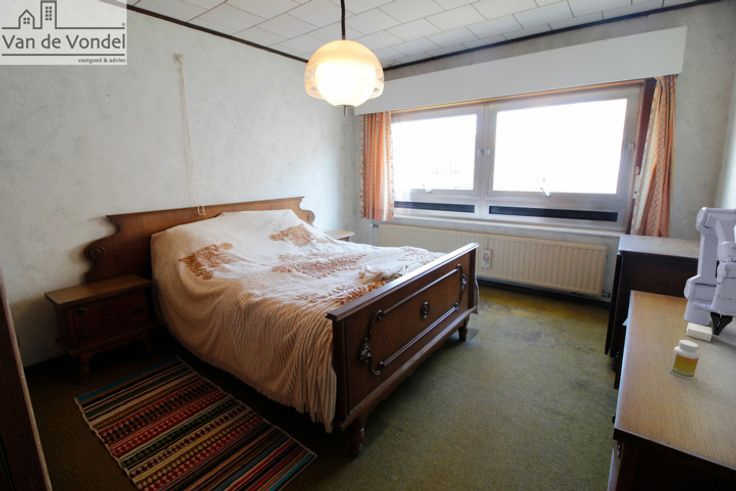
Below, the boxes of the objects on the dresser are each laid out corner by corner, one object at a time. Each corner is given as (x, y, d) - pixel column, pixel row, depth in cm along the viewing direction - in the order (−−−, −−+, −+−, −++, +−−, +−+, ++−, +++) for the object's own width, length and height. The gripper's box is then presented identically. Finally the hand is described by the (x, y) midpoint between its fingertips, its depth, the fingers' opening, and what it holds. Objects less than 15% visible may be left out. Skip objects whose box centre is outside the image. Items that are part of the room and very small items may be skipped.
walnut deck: (684, 330, 128) (685, 327, 127) (710, 337, 123) (711, 334, 123) (683, 338, 122) (684, 335, 122) (711, 345, 117) (712, 342, 117)
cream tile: (686, 328, 127) (688, 322, 126) (709, 334, 123) (711, 327, 122) (686, 335, 122) (688, 328, 121) (710, 341, 118) (712, 334, 117)
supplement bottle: (698, 380, 98) (707, 349, 96) (676, 377, 99) (684, 346, 97) (685, 369, 103) (693, 339, 101) (664, 367, 104) (672, 337, 102)
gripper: (696, 294, 118) (687, 331, 121) (760, 306, 108) (747, 346, 112) (696, 289, 123) (687, 324, 126) (757, 300, 113) (745, 338, 117)
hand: (715, 334), depth 119 cm, fingers closed
